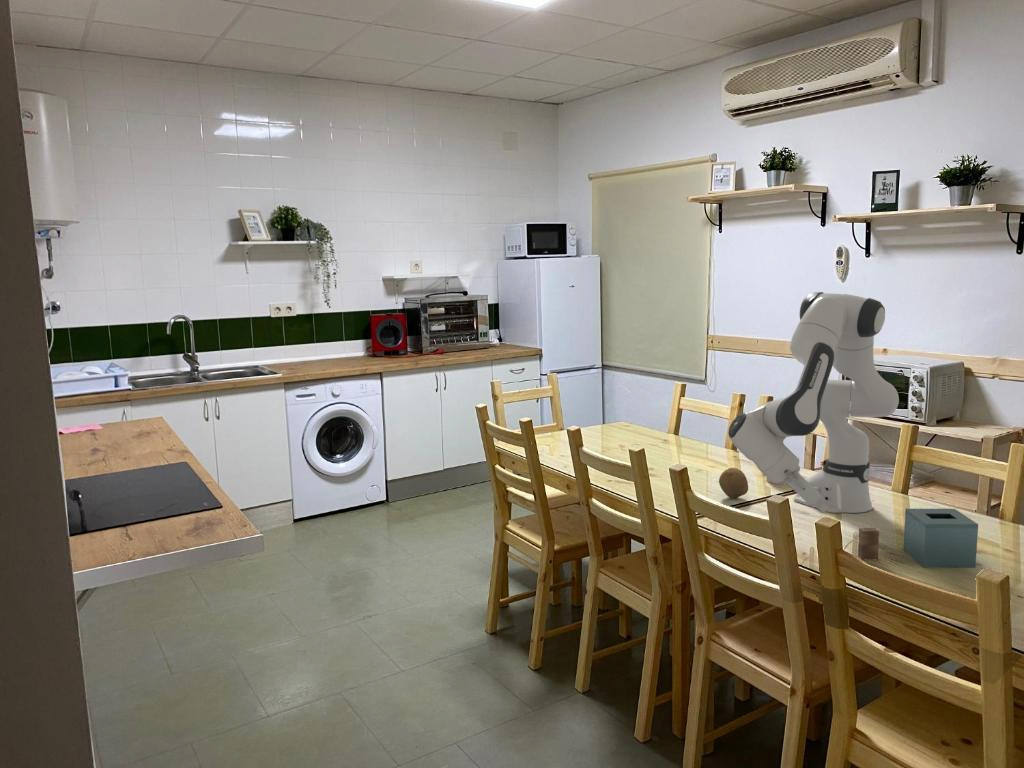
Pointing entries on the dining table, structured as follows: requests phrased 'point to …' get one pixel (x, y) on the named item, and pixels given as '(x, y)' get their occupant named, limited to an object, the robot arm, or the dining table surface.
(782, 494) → the dining table surface
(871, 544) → the walnut block
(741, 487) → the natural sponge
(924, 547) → the blue-gray slotted box
